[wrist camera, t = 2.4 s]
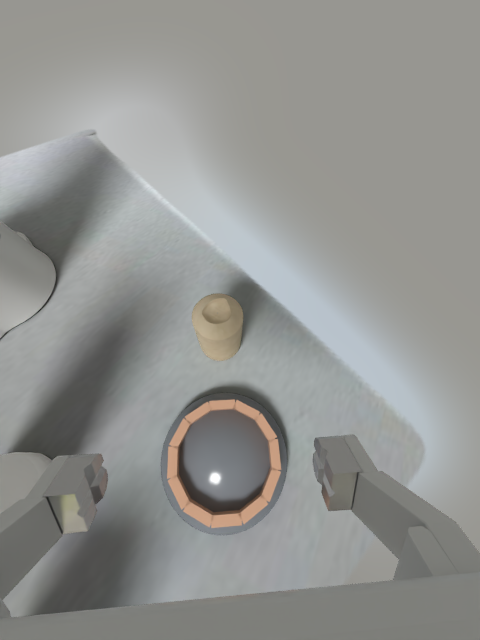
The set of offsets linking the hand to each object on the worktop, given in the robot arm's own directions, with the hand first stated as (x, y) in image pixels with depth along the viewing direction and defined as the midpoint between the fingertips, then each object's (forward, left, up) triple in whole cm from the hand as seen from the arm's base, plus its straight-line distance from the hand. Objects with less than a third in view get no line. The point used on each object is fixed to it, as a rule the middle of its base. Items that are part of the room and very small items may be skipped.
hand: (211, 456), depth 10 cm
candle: (0, +12, -23) cm, 26 cm away
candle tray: (0, -2, -23) cm, 23 cm away
